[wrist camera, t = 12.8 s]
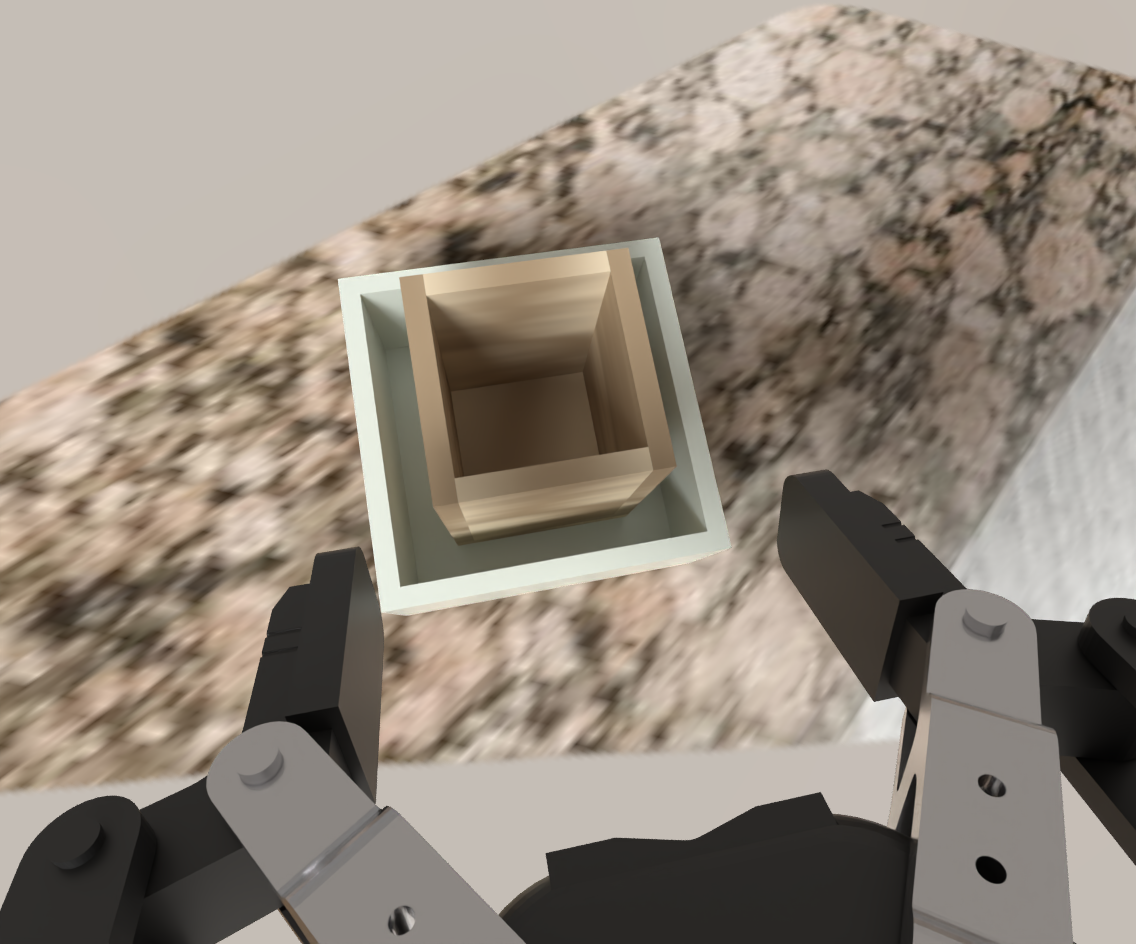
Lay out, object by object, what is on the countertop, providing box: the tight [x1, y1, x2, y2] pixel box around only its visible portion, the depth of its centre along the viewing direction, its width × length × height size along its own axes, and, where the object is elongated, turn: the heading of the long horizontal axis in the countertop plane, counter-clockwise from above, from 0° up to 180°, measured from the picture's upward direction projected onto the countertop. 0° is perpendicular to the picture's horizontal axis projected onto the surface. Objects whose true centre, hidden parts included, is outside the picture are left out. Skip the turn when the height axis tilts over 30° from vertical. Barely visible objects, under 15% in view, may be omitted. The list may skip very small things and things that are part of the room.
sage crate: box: [338, 237, 732, 616], centre depth 24 cm, size 10×10×5 cm
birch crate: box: [399, 248, 677, 546], centre depth 21 cm, size 6×6×8 cm
